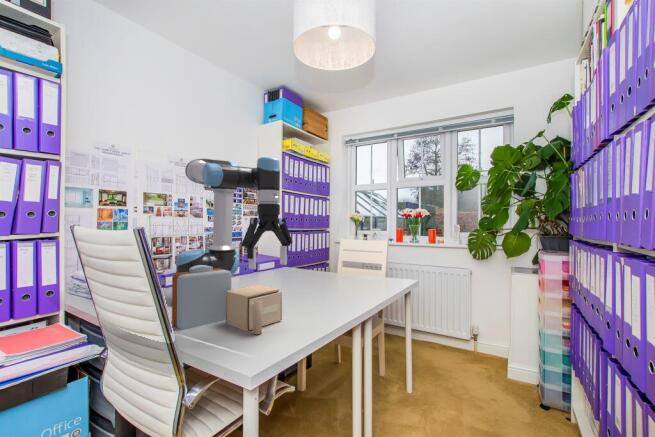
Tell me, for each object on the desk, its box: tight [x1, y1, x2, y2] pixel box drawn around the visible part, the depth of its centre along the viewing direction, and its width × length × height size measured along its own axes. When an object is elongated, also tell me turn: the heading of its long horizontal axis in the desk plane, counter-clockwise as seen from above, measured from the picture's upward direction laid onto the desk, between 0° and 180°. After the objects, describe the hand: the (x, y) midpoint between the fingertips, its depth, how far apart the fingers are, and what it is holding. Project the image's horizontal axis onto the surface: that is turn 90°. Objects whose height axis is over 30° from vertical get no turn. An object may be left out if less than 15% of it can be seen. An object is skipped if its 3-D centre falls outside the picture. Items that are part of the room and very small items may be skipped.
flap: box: [249, 291, 283, 335], centre depth 106 cm, size 6×15×10 cm, turn 140°
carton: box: [225, 284, 280, 332], centre depth 112 cm, size 12×14×12 cm
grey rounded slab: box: [171, 265, 232, 331], centre depth 113 cm, size 18×9×21 cm, turn 134°
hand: (268, 266), depth 105 cm, fingers open, 13 cm apart
